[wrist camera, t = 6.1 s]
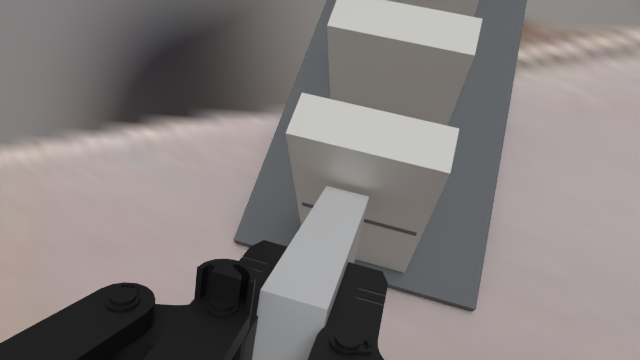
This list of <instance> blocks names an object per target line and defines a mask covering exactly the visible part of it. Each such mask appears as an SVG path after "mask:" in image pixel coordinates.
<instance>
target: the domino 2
mask: <svg viewBox="0 0 640 360" xmlns="http://www.w3.org/2000/svg"><path fill="white" fill-rule="evenodd" d="M458 133H459V128H455V127H451V126H446V125H442V124H437V123H433V122H429V121H424V120H420V119H416V118H411V117H407V116H402V115H398V114H394V113H389V112H385V111H381V110H376V109H372V108H367V107H363V106H359V105H354V104H350V103H346V102H341V101H337V100H332V99H328V98H324V97H319V96H315V95H311V94H306V93H301V96H300V98H299V101H298V103H297V106H296V108H295V111H294V113H293V116H292V118H291V121H290V123H289V126H288V128H287V131H286V139H287V145H288V151H289V156H290V162H291V168H292V174H293V180H294V186H295V192H296V198H297V204H298V210H299V216H300V222H301V225H302V224H303V222H304V221H305V219H306V218H307V216H308V214H309V213H310V211H311V210H312V208H313V207H314V205H315V203H316V202H317V200H318V199H319V197H320V196H321V194H322V192H323V191H324V189H325V188H326V186H329V187H333V188H337V189H341V190H345V191H349V192H353V193H357V194H361V195H365V196H369V200H368V205H367V209H366V213H365V218H364V222H363V226H362V231H361V235H360V239H359V244H358V248H357V252H356V257H355V259H356V260H360V261H363V262H367V263H370V264H374V265H377V266H381V267H385V268H388V269H392V270H395V271H399V272H402V273H405V271H406V268H407V266H408V264H409V262H410V260H411V258H412V255H413V253H414V251H415V249H416V247H417V245H418V242H419V240H420V238H421V236H422V234H423V232H424V229H425V227H426V225H427V223H428V221H429V219H430V216H431V214H432V212H433V210H434V208H435V206H436V203H437V201H438V199H439V197H440V195H441V193H442V190H443V188H444V186H445V184H446V182H447V180H448V177H449V175H450V173H451V168H452V163H453V158H454V153H455V148H456V143H457V138H458Z"/></svg>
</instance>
